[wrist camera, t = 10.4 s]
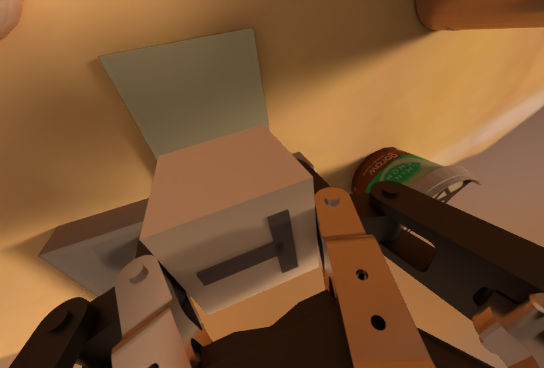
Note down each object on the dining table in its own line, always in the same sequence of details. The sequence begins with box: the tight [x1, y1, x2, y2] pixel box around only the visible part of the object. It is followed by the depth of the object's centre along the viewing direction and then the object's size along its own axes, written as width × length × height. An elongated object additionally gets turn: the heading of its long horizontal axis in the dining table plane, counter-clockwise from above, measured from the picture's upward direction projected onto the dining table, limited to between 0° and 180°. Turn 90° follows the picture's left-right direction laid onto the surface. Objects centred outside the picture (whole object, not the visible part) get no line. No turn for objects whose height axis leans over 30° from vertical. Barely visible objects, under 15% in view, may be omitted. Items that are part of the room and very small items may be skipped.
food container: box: [351, 147, 481, 232], centre depth 27 cm, size 12×6×10 cm, turn 139°
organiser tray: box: [38, 152, 314, 297], centre depth 25 cm, size 12×26×4 cm, turn 101°
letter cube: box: [139, 124, 319, 315], centre depth 9 cm, size 5×5×5 cm
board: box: [98, 28, 270, 161], centre depth 19 cm, size 11×11×1 cm
